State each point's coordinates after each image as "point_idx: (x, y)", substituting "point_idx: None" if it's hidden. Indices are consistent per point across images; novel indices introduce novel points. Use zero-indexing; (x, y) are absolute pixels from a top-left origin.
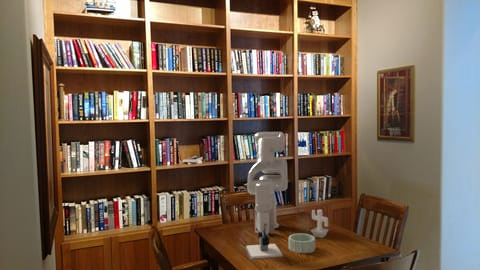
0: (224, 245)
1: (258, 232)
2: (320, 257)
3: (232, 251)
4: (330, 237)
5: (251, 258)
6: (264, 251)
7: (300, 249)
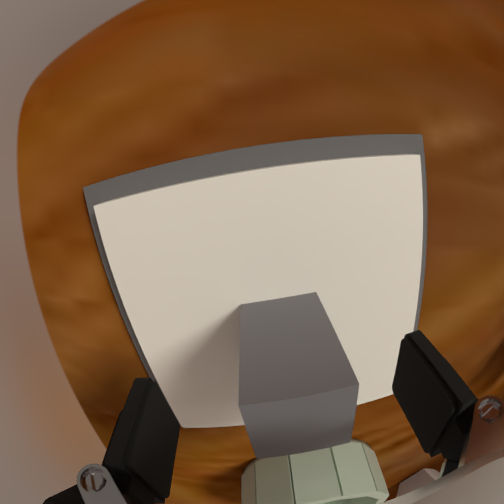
0: (448, 3)
1: (454, 392)
2: (205, 494)
3: (329, 16)
4: (394, 492)
5: (104, 200)
6: (234, 334)
7: (244, 487)
